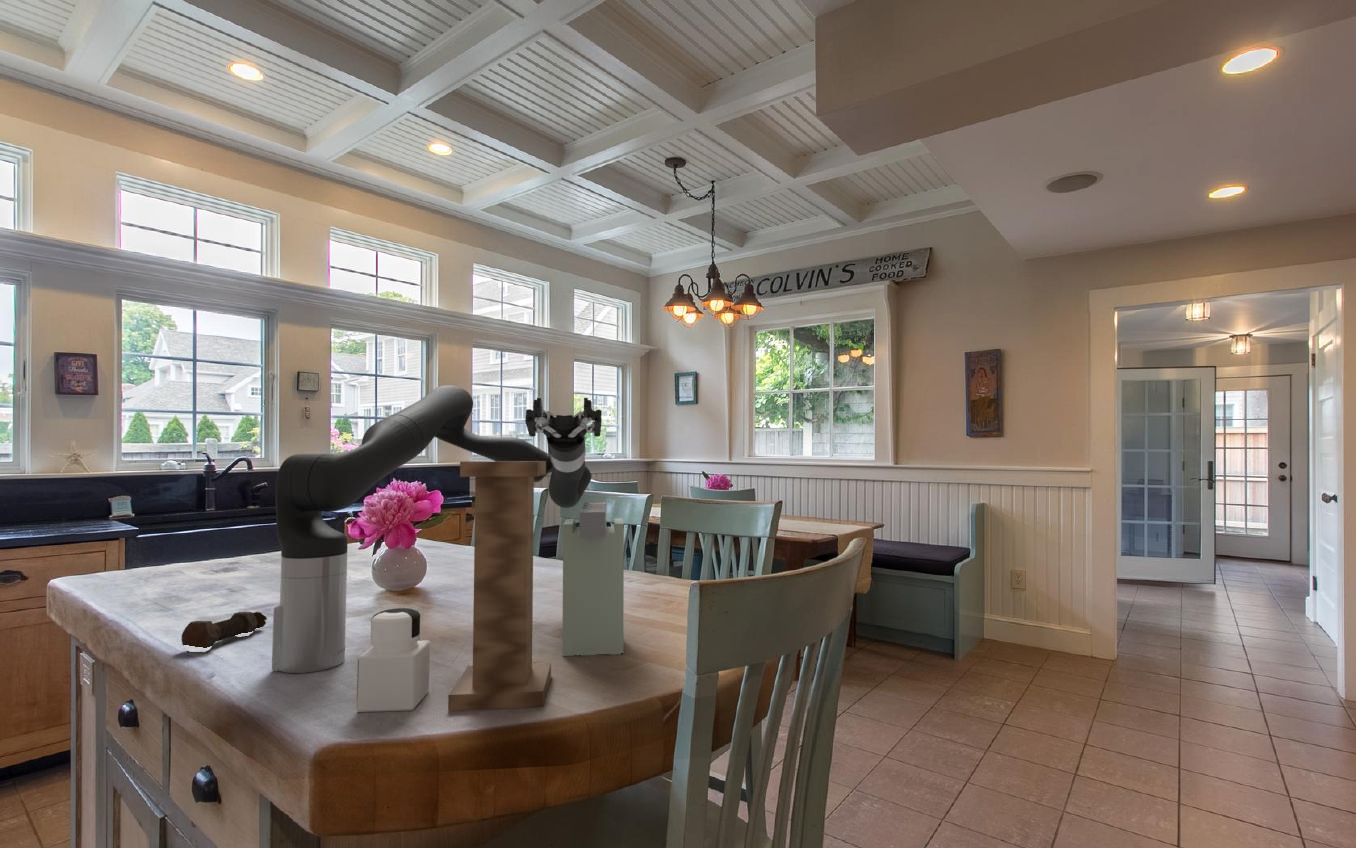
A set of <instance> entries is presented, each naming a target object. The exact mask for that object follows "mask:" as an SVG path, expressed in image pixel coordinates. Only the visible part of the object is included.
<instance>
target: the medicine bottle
mask: <svg viewBox="0 0 1356 848" xmlns="http://www.w3.org/2000/svg"><path fill="white" fill-rule="evenodd" d="M370 622H371V623H370V645H371V647H370V648H368V649H367V650H366V651H365V652H363V653H362V654H360V655H359V656H358V658H357V687H356V690H357V691H356V711H357V712H358V713H377V712H381V713H382V712H383V713H384V712H407V711H410V712H411V711H413V710H414V709H416V707H417V706H418V705H419V703H421V701H422V700H423V699H424V698H425V696H426V695H427V694H428V693H429V691H430V664H431V663H430V659H431V658H430V656H431V655H430V653H431V651H430V650H431V642H430V641H429V640H428V639H427V640H420V638H421V637H420V636H421V613H420V612H419V611H418V610H415V609H413V608H408V607H407V608H406V607H404V608H403V607H399V608H398V607H397V608H396V607H395V608H391V609H390V608H389V609H384V610H380V611H379V612H377V613H376V614H373V616H372V617H371V619H370Z"/></svg>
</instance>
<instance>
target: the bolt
mask: <svg viewBox="0 0 1356 848" xmlns="http://www.w3.org/2000/svg"><path fill="white" fill-rule="evenodd" d="M266 624H267V616H266V615H264V614H263V613H262V612H260V611H255V612H252V611H239V612H238V611H237V612H234V613H233V615H232V616H231V617H230V618H228V619H225V620H221V621H218V622H213V621H211V620H195V621H194V620H193V621H190V622H188V624H186V625H187V626H185V628H184V629H183V631H182V634H181V637H180V638H181V644H182V646H183V645H189V646H195V647H203V648H207V647H210V646H212V647H213V646H214V645H215V643H217V642H220V641H223V640H226V639H225V638H227V639H229V638H228V637H230V638H233V637H232V636H235V635H238V634H241V633H248V632H252V631H254V632H255V631H256V630H257V629H256V628H260V627H262V628H263V627H265V625H266ZM255 629H256V630H255ZM260 629H261V628H260ZM216 641H217V642H216Z"/></svg>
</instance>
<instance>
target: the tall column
mask: <svg viewBox="0 0 1356 848" xmlns="http://www.w3.org/2000/svg"><path fill="white" fill-rule="evenodd" d="M541 475H546V461H494V460H490V461H484V460H483V461H482V460H481V461H480V460H479V461H478V460H477V461H476V460H475V461H474V460H472V461H470V460H469V461H459V477H460V478H465V477H466V478H467V477H468V478H472V477H473V478H474V479H475V483H474V488H475V491H474V544H473V545H474V548H473V549H474V551H473V552H474V553H473V555H474V556H473V560H474V561H473V565H474V567H473V568H474V569H473V615H472V617H473V618H472V619H473V627H472V631H473V632H472V665H467V667H466V668H465V670H464V671H463V673H462V674H461V676H460V677H459V679H458V680H457V681H456V683H455V684H454V686H453V687H452V689H451V691H450V692H449V694H448V699H447V701H448V702H447V703H448V707H447V711H449V712H452V711H476V710H477V711H479V710H497V709H498V710H499V709H500V710H501V709H502V710H504V709H524V708H525V709H526V708H543V707H544V704H545V700H546V697H547V693H548V689H549V685H550V682H551V677H552V662H535V663H533V619H534V618H533V614H534V611H533V607H534V606H533V604H534V603H533V602H534V600H533V598H534V593H533V591H534V590H533V589H534V513H535V512H534V508H535V507H534V506H535V505H534V504H535V503H534V502H535V501H534V500H535V498H534V495H535V492H534V491H535V487H534V486H535V482H534V476H541ZM546 476H547V475H546Z"/></svg>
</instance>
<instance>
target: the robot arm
mask: <svg viewBox="0 0 1356 848" xmlns="http://www.w3.org/2000/svg"><path fill="white" fill-rule="evenodd" d="M473 408H474V400H473V396H472V395H471V394H470V393H469V392H468V391H467V389H464V388H463V387H460V386H458V385H454V384H453V385H451V384H450V385H449V384H448V385H441V386H437V387H435V388H434V389H432V390H431V391H430V392H429V393H427V394H426V395H425V396H423V397H422V398H421V399H419V400H417V401H415V402H414V403H412V404H410V405H409V406H407V407H405V408H402V409H401V410H400V411H397V412H395V413H394V414H390V415H388V416H386V417H385V418H382V419H380V420H379V421H376V422H375V423H374V424H372V425H371V426H369V427H368V429H367V430H365V432H364V435H363V436H362V440H361V445H360V446H358V447H355V448H353V449H351V450H347V451H344V452H338V453H337V452H336V453H297V454H293V455H289V457H287V458H286V459H284V461H283V462H282V463H281V465H280V467H279V469H278V472H277V475H276V479H275V520H276V521H275V522H276V523H275V524H276V526H275V527H276V528H275V529H276V536H277V540H278V543H279V545H280V550H281V552H280V554H281V555H280V556H281V557H280V593H279V605H277V606H274V608H273V612H272V613H273V615H272V616H273V621H272V645H271V646H272V653H271V671H272V670H280V671H279V672H283V673H288V674H299V673H302V674H303V673H311V672H319V671H323V670H328V669H331V668H333V667H336V666H339V665H340V664H342V663H344V661H345V659H346V658H345V655H346V627H347V626H346V623H347V621H346V620H347V617H346V616H347V585H348V584H347V583H348V582H347V581H348V578H347V577H348V571H347V570H348V547H349V546H348V543H349V542H348V538H347V537H348V536H347V535H346V534H344V533H343V532H341V531H339V530H336V529H334V528H332V527H331V526H330V525H329V524H327V523H326V521H325V520H324V517H323V514H322V512H337V511H341V510H345V509H347V508H348V507H350V506H352V505H353V504H354V503H356V502H357V501H358V500H359V499H361V498H362V497H363V496H364V495H365V494H366V493H367V492H368V491H369V490H370V489H371V488H372V487H374V485H376V484H378V482H379V481H381V480H382V479H384V478H385V477H387V476H388V475H390V474H391V473H393V471H395V470H397V469H399V468H401V466H404V465H405V464H407V463H408V462H410V461H411V460H412V459H414V458H416V457H417V456H419V454H421V453H423V452H424V451H425V450H426V448H427V447H428V446H429V444H430V443H431V442H432V441H433V439H434V438H437V439H438V440H440V441H443V442H445V443H448V444H450V445H453V446H455V447H458V448H461V449H463V450H466V451H468V452H471V453H473V454H476V455H479V456H480V457H484V458H486V459H489V460H490V461H546V475H541V476H534V483H539V482H541V481H542V480H543V479H544V478H545V477H546V476H547V475H549V474H550V478H549V483H548V495H549V497H550V500H551V502H553V503H554V504H555V505H557V506H559V507H560V508H563V509H564V508H565V509H570V508H573V507H575V506H576V505H578V503H579V501H580V500H581V499H582V496H583V495H584V493H585V491H586V489H587V488H588V487H589V484H590V482H591V481H592V472H591V470H590V469H589V467H587V466H586V460H585V459H586V458H585V457H586V451H587V449H586V435H587V434H593V436H594V437H597V438H598V437H600V436H601V433H602V431H601V430H602V421H603V420H602V414H603V413H602V410H601V409H596V410H593V403H592V400H591V399H589V398H588V396H587V397H583V411H580V410H579V412H577V413H575V414H574V415H572V414H570V415H569V414H567V415H561V414H554V413H552V412H551V411H549V410H547V411H546V410H545V409H543V401H542V397H541V396H537V397H536V399H534V400H533V406H532V408H533V409H530V408H529V409H526V410H525V420H524V421H525V426H526V430H527V432H528V436H529V437H536V434H542V433H543V435H544V436H545V437H546V442H547V452H546V451H544V450H542V449H540V447H537V446H535V445H533V444H532V443H529V442H528V441H526V440H523V439H521V438H518V437H510V436H499V437H498V436H483V435H478V434H476V433H474V432H471V431H469V430H468V429H467V428H465V426H466V424H467V422H468V419H469V418H470V416H471V414H472V412H473ZM589 423H591V424H590V425H588V424H589ZM587 425H588V426H587Z"/></svg>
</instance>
